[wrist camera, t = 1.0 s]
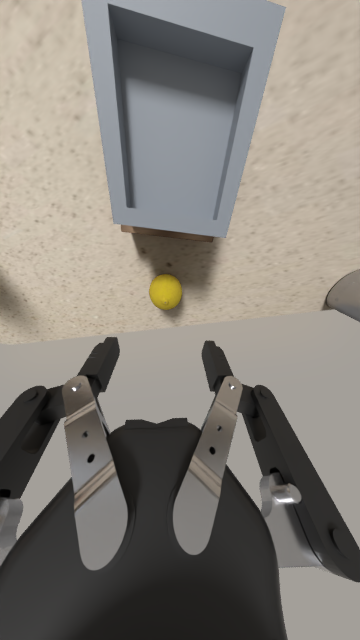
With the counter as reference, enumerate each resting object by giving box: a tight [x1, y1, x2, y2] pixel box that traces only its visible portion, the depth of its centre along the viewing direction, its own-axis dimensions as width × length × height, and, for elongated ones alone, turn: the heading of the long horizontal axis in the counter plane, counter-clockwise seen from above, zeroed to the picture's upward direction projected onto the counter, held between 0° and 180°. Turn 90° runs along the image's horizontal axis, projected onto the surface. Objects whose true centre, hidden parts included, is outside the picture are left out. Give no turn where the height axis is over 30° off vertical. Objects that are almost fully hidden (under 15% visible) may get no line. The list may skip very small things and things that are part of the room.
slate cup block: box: [82, 0, 286, 238], centre depth 12 cm, size 10×10×6 cm
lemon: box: [149, 274, 182, 310], centre depth 23 cm, size 6×6×8 cm
